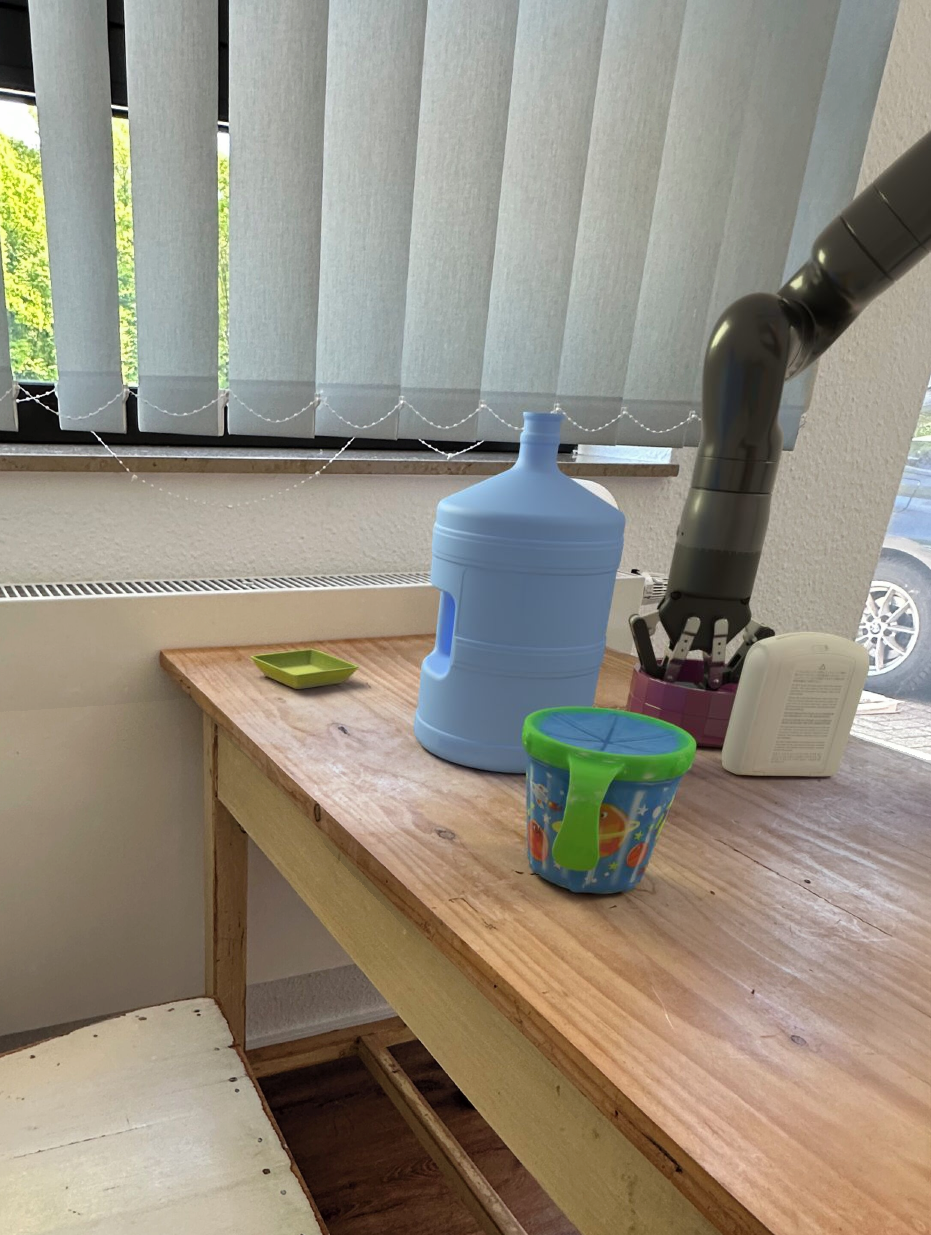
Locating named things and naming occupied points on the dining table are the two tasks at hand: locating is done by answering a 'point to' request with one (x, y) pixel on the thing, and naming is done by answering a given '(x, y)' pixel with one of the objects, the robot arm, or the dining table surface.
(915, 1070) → the dining table surface
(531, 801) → the snack cup
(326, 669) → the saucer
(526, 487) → the water jug
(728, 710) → the bowl
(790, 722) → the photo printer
